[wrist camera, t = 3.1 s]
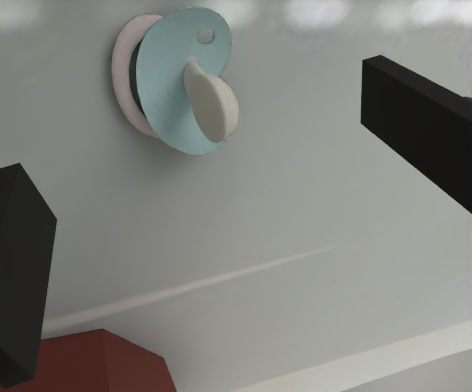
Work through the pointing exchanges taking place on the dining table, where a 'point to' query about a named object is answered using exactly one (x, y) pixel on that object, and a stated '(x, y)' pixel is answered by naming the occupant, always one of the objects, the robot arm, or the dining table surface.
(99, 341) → the bucket
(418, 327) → the dining table surface
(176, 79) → the pacifier
